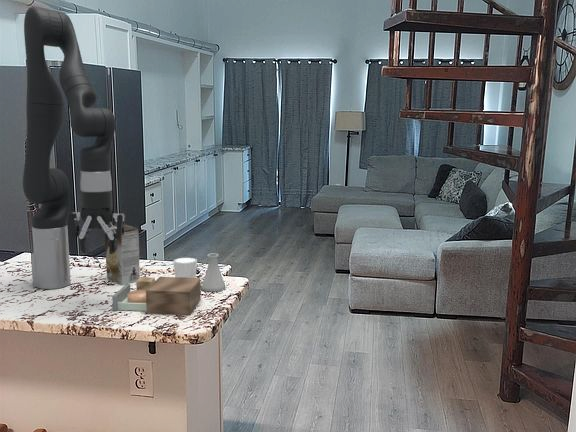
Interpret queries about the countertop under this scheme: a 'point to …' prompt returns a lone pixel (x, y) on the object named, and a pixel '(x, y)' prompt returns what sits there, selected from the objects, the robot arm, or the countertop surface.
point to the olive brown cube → (144, 283)
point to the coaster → (137, 296)
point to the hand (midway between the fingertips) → (98, 252)
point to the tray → (126, 301)
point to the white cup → (185, 267)
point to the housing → (173, 296)
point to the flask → (213, 275)
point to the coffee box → (124, 257)
